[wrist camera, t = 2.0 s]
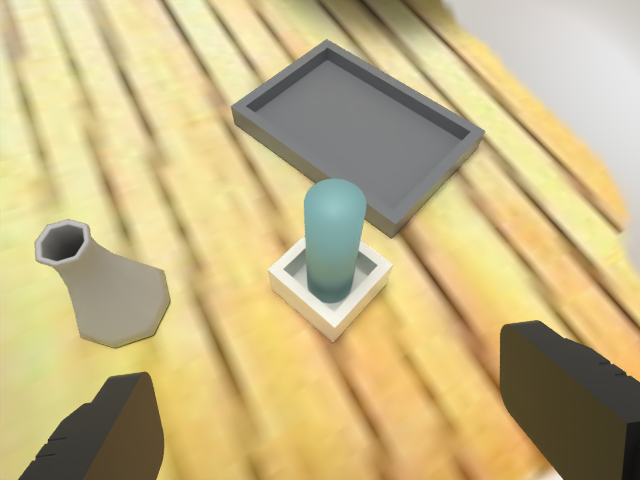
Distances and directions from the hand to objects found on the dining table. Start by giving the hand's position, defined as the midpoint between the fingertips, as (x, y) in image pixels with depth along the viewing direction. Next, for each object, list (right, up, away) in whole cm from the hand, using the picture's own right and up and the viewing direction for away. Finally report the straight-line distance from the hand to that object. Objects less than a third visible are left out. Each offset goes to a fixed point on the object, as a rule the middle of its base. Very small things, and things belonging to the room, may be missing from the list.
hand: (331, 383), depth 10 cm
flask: (-16, -2, +25) cm, 29 cm away
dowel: (0, 0, +25) cm, 25 cm away
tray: (+3, +14, +34) cm, 37 cm away
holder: (0, -1, +25) cm, 25 cm away
